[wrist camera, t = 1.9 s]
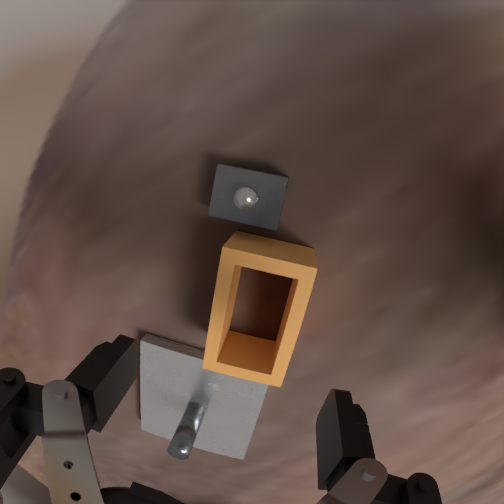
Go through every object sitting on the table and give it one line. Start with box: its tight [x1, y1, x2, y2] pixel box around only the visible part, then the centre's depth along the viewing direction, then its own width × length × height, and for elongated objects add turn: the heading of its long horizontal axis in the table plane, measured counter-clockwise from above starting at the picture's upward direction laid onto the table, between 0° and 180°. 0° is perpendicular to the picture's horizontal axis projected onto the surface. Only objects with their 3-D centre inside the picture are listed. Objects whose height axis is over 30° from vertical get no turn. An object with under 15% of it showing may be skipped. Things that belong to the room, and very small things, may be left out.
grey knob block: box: [208, 164, 289, 231], centre depth 18 cm, size 4×3×3 cm
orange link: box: [202, 231, 318, 387], centre depth 19 cm, size 5×8×4 cm, turn 168°
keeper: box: [140, 333, 268, 460], centre depth 22 cm, size 10×11×6 cm
